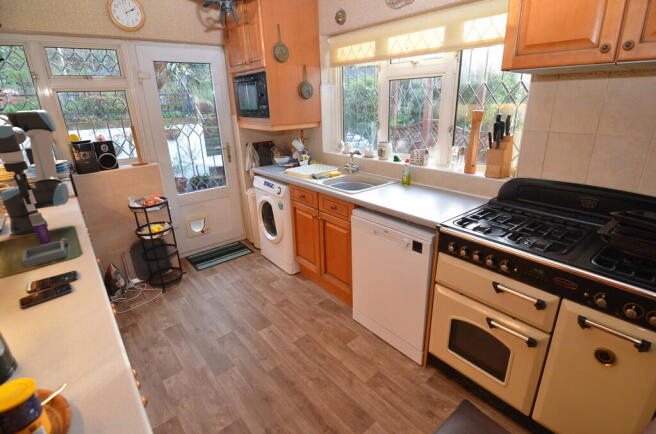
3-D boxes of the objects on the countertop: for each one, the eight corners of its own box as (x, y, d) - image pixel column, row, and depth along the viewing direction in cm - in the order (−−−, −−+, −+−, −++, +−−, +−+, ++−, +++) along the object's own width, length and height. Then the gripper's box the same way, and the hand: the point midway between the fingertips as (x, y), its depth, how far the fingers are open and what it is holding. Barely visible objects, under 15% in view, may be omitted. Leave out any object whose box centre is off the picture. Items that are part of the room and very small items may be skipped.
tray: (26, 255, 148) (23, 249, 147) (65, 246, 156) (62, 240, 154) (24, 267, 137) (21, 261, 136) (66, 256, 145) (63, 250, 144)
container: (45, 245, 157) (33, 216, 152) (37, 245, 158) (25, 215, 153) (55, 241, 161) (43, 212, 156) (47, 240, 162) (35, 212, 157)
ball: (60, 244, 157) (58, 238, 156) (69, 242, 159) (66, 236, 158) (60, 246, 155) (58, 240, 154) (69, 244, 157) (67, 238, 156)
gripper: (5, 159, 152) (23, 202, 160) (-1, 167, 134) (20, 216, 142) (26, 156, 156) (42, 198, 164) (24, 164, 138) (42, 211, 146)
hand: (32, 207), depth 153 cm, fingers open, 13 cm apart
